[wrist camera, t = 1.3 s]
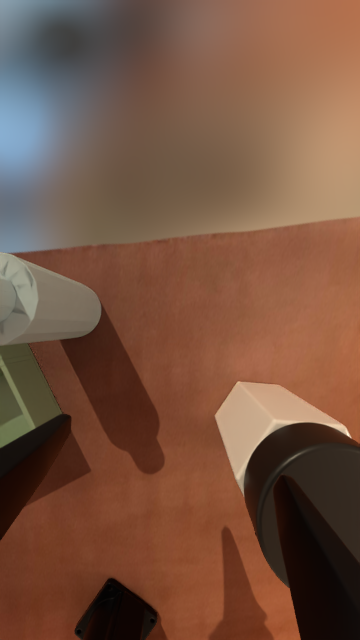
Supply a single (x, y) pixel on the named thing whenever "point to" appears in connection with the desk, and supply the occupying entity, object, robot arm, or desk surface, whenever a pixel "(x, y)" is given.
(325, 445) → the jar
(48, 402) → the divided tray
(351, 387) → the desk surface
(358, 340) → the desk surface
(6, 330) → the bottle
